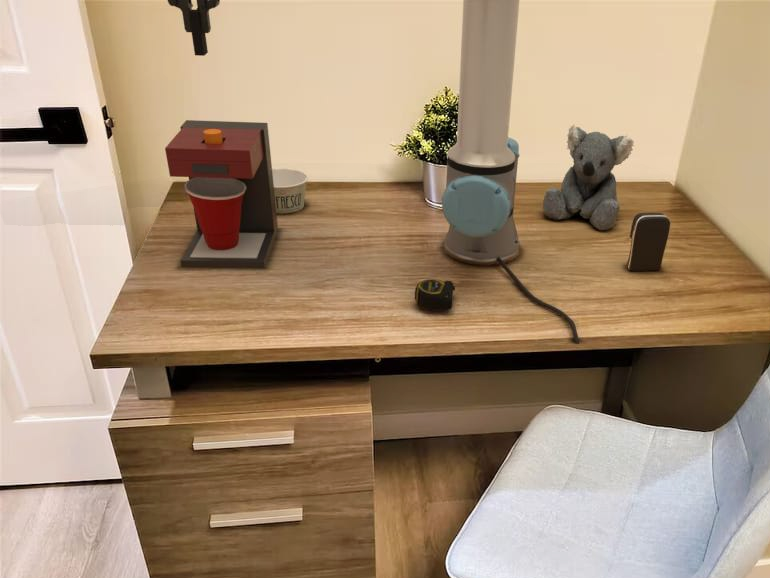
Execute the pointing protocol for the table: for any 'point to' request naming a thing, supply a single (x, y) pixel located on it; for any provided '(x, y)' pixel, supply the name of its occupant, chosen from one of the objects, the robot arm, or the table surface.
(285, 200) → the food container
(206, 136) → the button
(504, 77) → the robot arm
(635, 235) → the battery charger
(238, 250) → the coffee maker
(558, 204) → the koala plush
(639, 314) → the table surface
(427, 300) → the tape measure
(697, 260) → the table surface
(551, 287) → the table surface
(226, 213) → the plastic cup
